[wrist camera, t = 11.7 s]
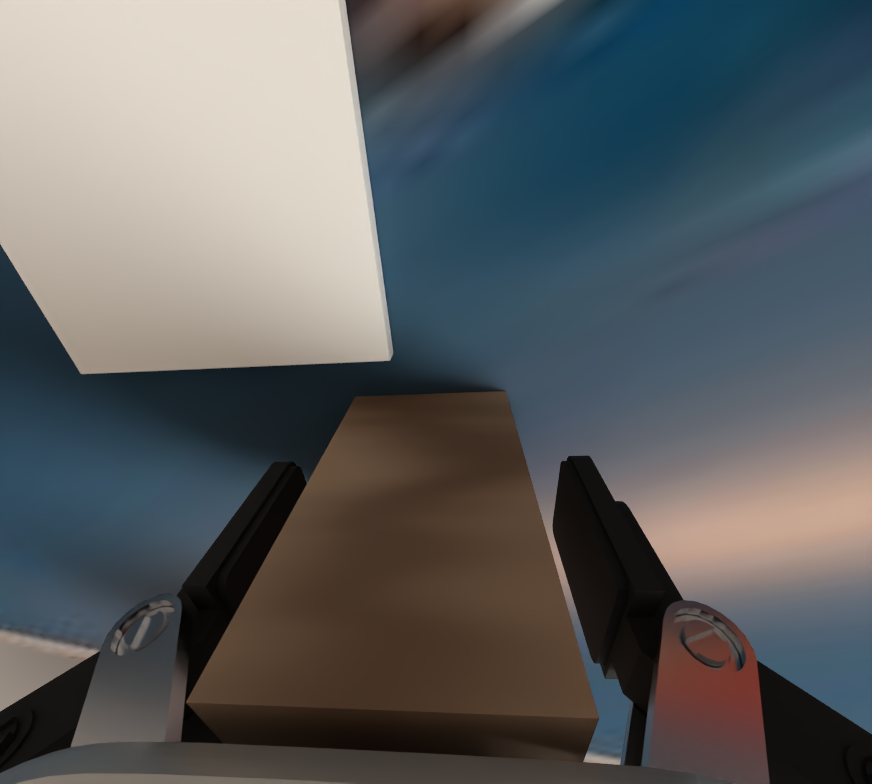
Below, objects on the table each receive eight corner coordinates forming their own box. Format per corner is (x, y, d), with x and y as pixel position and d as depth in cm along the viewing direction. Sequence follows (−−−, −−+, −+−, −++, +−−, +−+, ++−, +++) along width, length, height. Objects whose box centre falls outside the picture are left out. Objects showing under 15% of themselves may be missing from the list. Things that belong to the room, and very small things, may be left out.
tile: (318, -193, 6) (304, -234, 5) (393, 353, 10) (390, 360, 10) (-177, -104, 7) (-235, -133, 6) (99, 366, 11) (81, 374, 11)
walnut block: (505, 390, 11) (599, 719, 4) (502, 502, 13) (555, 835, 6) (355, 396, 11) (186, 702, 4) (377, 504, 14) (292, 818, 6)
